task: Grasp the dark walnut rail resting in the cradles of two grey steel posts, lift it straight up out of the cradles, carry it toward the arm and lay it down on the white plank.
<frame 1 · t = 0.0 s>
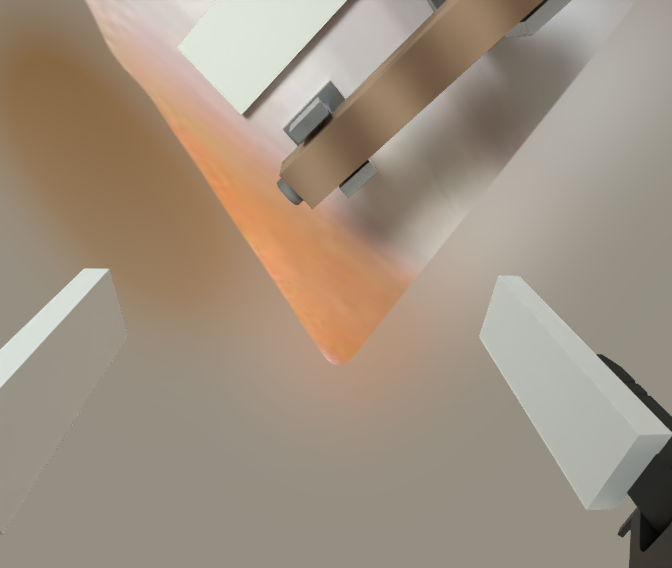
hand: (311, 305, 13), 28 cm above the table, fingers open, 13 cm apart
rail: (412, 68, 28), point 7 cm above the table, touching standard a, standard b
standard a: (327, 130, 37), on the table
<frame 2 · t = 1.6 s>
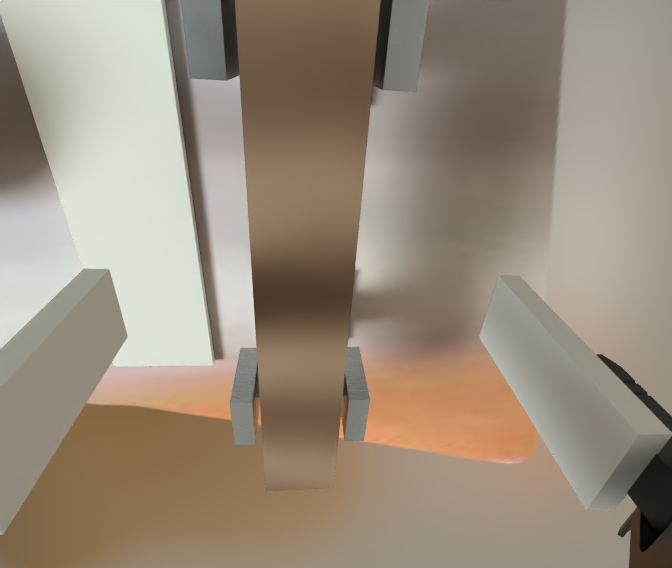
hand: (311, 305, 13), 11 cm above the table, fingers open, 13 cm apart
white plank: (128, 189, 22), on the table
rail: (302, 245, 17), point 7 cm above the table, touching standard a, standard b
standard a: (300, 306, 27), on the table
standard b: (303, 35, 19), on the table
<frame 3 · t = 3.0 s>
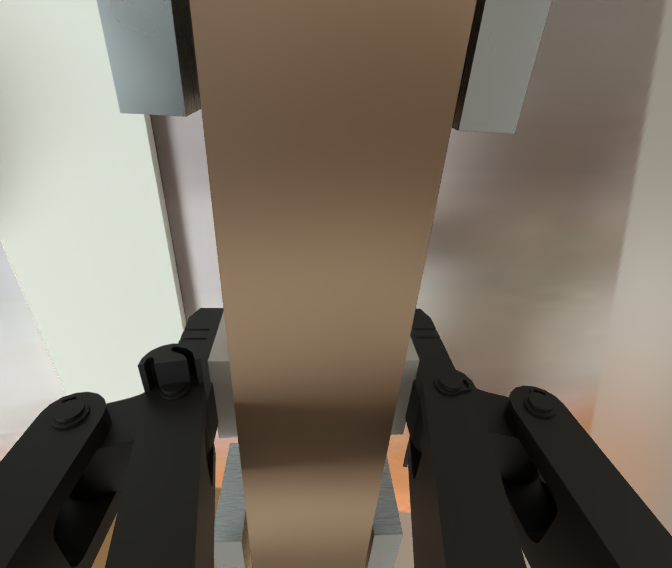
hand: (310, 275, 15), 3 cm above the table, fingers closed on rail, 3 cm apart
white plank: (91, 234, 17), on the table
rail: (312, 329, 12), point 7 cm above the table, touching gripper, standard a, standard b
standard a: (306, 366, 22), on the table
standard b: (315, 38, 14), on the table
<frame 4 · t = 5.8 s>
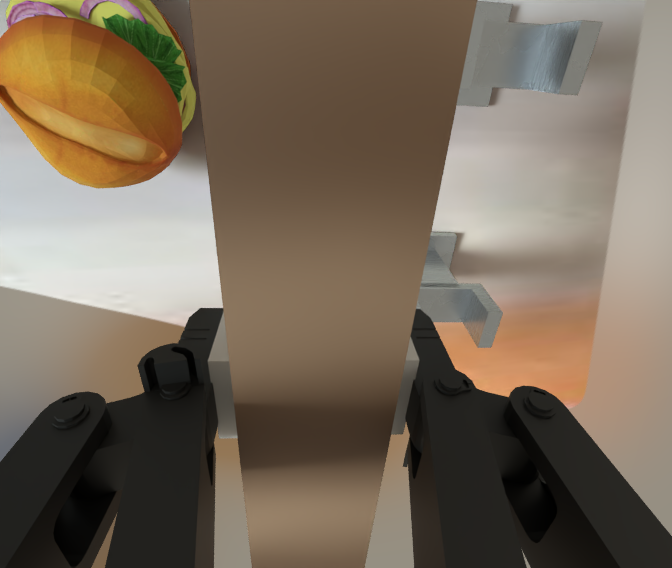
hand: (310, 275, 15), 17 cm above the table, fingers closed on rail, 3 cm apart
rail: (312, 331, 12), point 20 cm above the table, touching gripper
standard a: (414, 262, 35), on the table
standard b: (453, 55, 26), on the table
cheeseburger: (130, 79, 26), on the table
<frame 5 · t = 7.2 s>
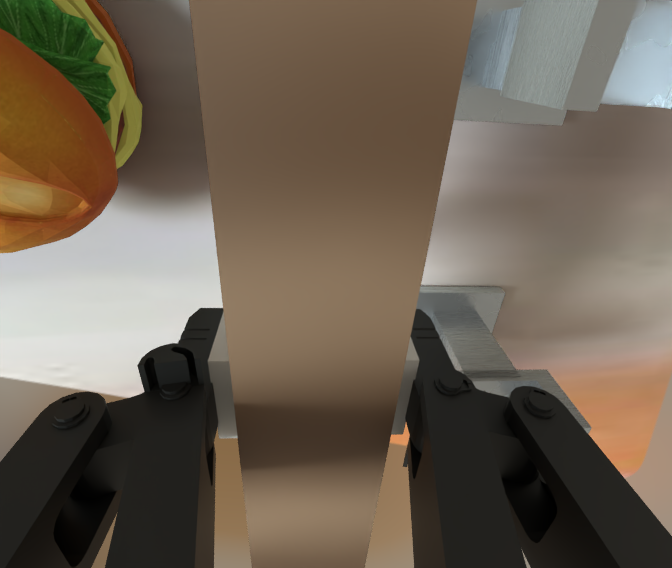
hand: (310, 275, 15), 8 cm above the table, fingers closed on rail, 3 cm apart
rail: (312, 331, 12), point 11 cm above the table, touching gripper
standard a: (446, 323, 27), on the table
standard b: (516, 52, 18), on the table
cheeseburger: (48, 84, 18), on the table
when the fingers open (1 cm above the table, at t = 8.6 s): rail drops 4 cm, point 1 cm above the table.
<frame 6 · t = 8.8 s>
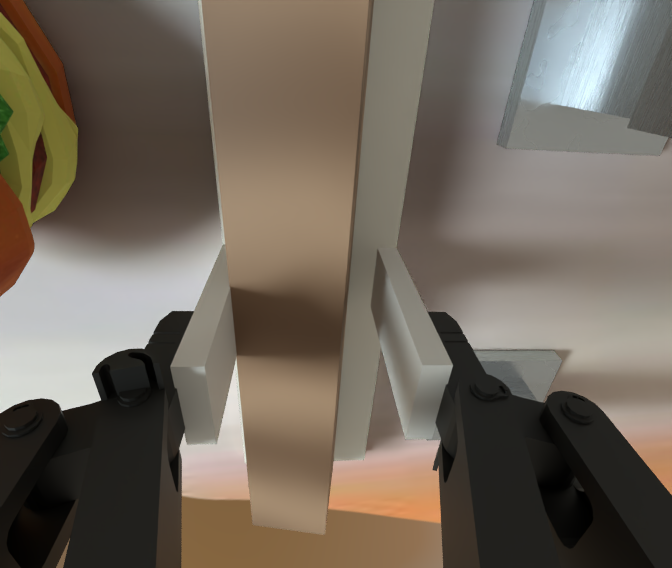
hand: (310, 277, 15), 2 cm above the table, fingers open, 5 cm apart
white plank: (310, 259, 16), on the table
rail: (307, 270, 16), point 1 cm above the table, tilted 10°, touching gripper
standard a: (484, 391, 21), on the table
standard b: (603, 57, 13), on the table
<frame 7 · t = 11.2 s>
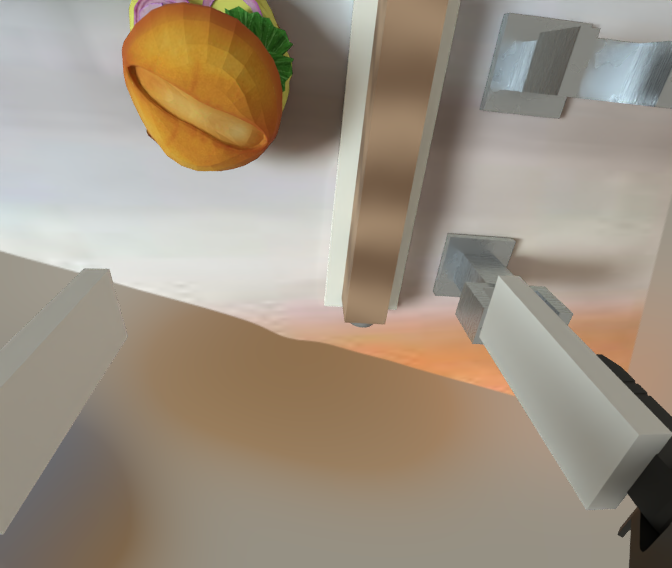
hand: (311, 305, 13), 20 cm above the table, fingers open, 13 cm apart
white plank: (380, 169, 31), on the table
rail: (379, 170, 30), point 1 cm above the table, touching white plank
standard a: (471, 265, 36), on the table
standard b: (530, 69, 28), on the table
cheeseburger: (225, 70, 27), on the table
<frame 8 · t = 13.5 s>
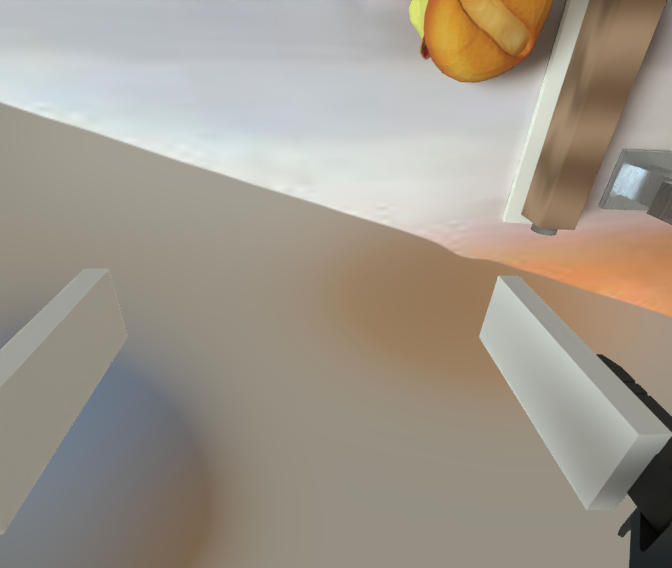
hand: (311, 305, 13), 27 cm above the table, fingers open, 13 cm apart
white plank: (577, 88, 35), on the table
rail: (579, 89, 35), point 1 cm above the table, touching white plank
standard a: (636, 179, 40), on the table
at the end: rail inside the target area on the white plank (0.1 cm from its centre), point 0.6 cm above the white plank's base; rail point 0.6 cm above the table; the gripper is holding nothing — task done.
